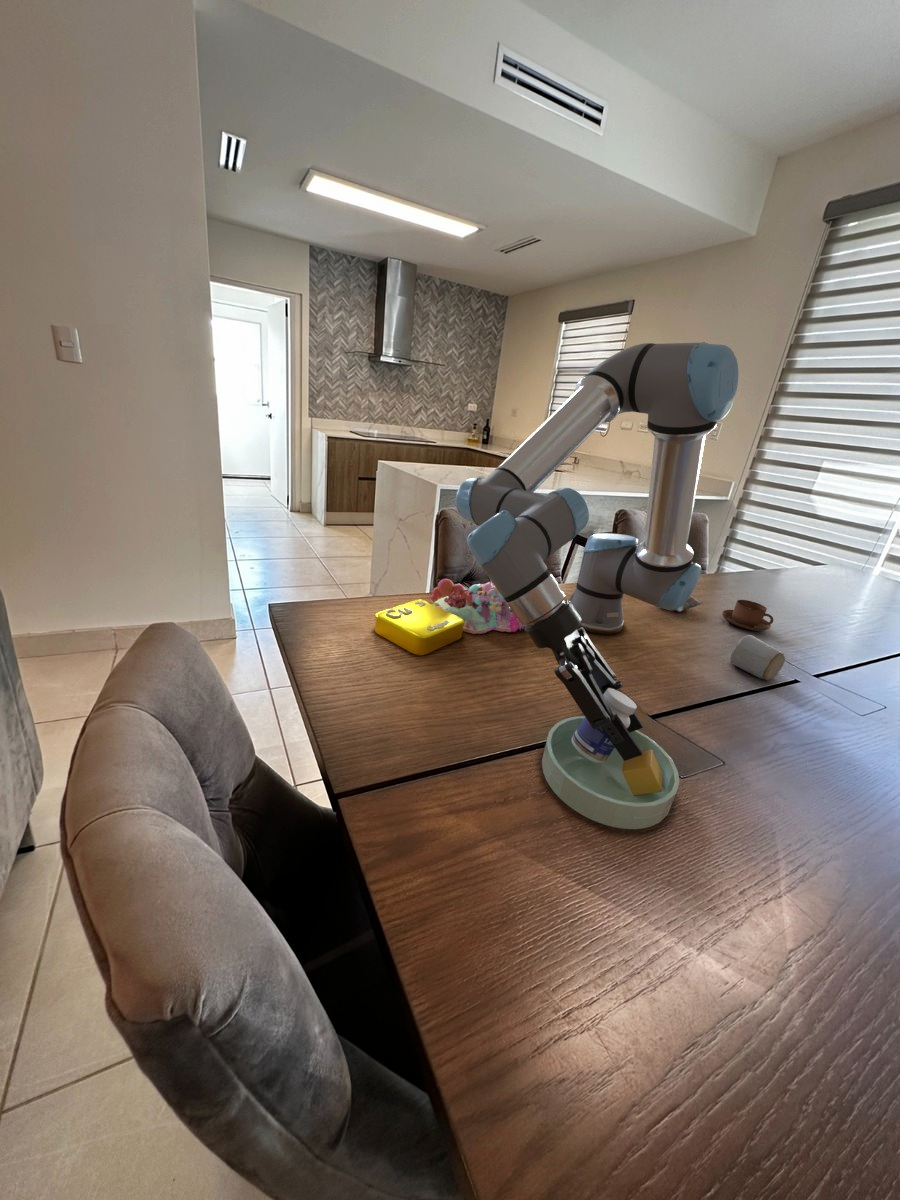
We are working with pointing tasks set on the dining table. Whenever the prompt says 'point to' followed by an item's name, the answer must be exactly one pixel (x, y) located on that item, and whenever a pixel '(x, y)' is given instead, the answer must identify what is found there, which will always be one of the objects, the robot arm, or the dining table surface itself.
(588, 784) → the bowl
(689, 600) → the packaged food
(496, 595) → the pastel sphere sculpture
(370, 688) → the dining table surface
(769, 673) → the ceramic mug
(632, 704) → the pill bottle
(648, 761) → the block
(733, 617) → the cup and saucer
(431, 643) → the element tile
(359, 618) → the dining table surface
